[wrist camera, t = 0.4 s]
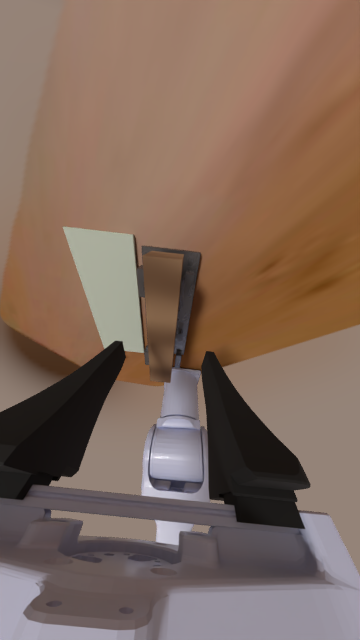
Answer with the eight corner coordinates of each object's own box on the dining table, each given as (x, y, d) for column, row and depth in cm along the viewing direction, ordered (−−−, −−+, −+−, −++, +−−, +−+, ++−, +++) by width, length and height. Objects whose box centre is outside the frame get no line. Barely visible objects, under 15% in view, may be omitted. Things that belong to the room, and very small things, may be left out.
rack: (183, 352, 26) (182, 373, 22) (149, 348, 26) (141, 369, 22) (200, 252, 16) (204, 258, 12) (143, 245, 16) (127, 250, 12)
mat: (144, 351, 26) (143, 352, 26) (105, 346, 26) (104, 348, 26) (133, 234, 15) (132, 234, 15) (65, 226, 15) (62, 226, 15)
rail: (172, 365, 23) (170, 383, 20) (154, 363, 23) (150, 380, 20) (183, 254, 13) (182, 260, 10) (152, 250, 13) (142, 255, 10)
